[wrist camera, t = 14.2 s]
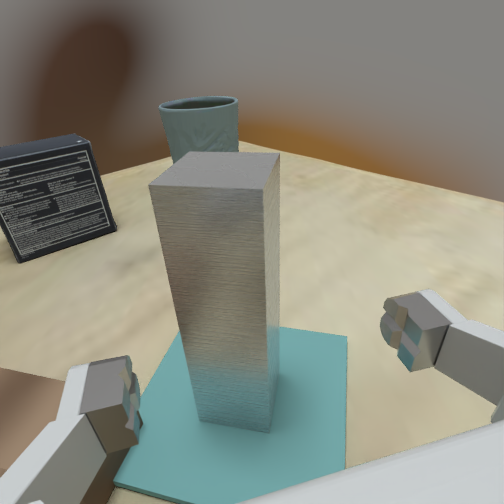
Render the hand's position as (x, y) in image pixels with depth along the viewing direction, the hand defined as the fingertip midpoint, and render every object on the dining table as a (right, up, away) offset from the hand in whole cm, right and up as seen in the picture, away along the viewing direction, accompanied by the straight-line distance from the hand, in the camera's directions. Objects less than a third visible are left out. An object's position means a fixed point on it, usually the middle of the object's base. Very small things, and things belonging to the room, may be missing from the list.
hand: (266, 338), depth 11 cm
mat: (-1, -6, +10) cm, 12 cm away
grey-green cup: (-7, +12, +40) cm, 42 cm away
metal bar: (-1, -6, +10) cm, 12 cm away
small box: (-22, +4, +29) cm, 37 cm away
